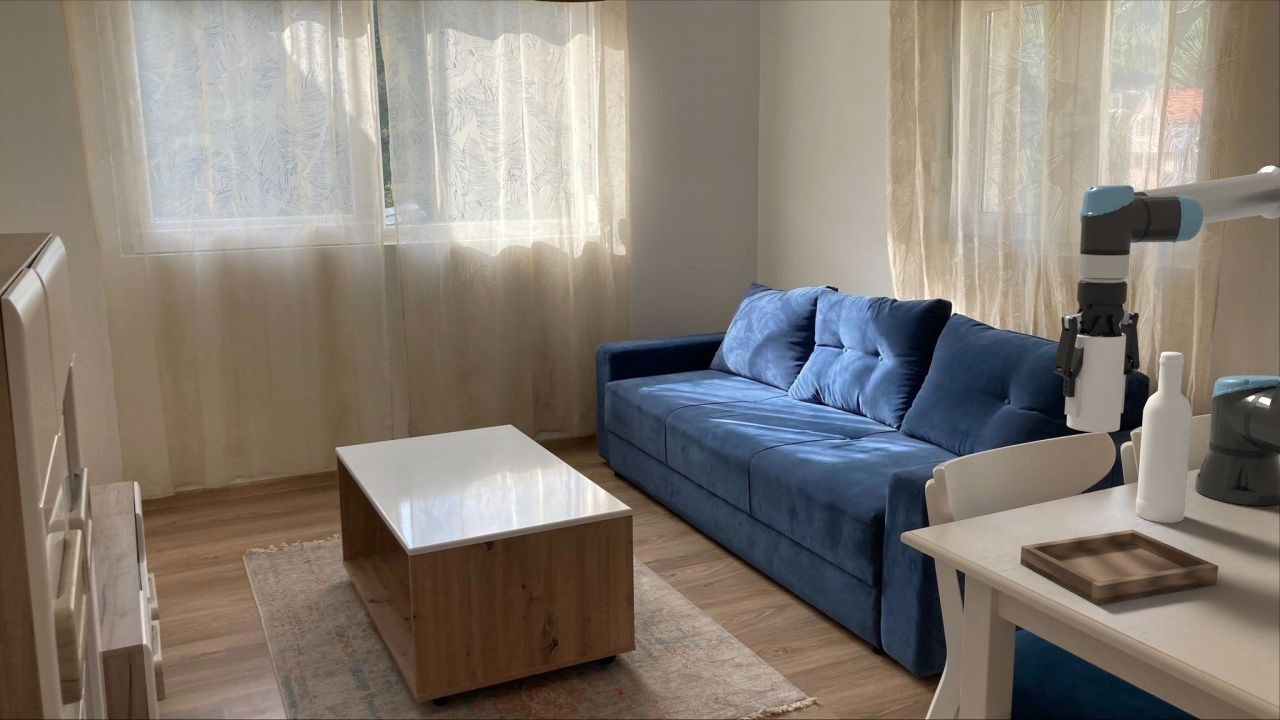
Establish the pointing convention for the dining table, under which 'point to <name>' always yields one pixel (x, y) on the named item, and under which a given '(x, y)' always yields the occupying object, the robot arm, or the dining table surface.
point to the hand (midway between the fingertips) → (1093, 413)
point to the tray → (1118, 566)
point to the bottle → (1165, 446)
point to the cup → (1100, 384)
